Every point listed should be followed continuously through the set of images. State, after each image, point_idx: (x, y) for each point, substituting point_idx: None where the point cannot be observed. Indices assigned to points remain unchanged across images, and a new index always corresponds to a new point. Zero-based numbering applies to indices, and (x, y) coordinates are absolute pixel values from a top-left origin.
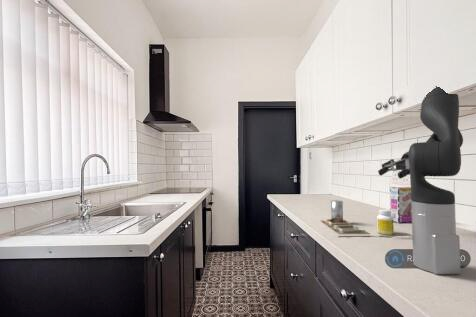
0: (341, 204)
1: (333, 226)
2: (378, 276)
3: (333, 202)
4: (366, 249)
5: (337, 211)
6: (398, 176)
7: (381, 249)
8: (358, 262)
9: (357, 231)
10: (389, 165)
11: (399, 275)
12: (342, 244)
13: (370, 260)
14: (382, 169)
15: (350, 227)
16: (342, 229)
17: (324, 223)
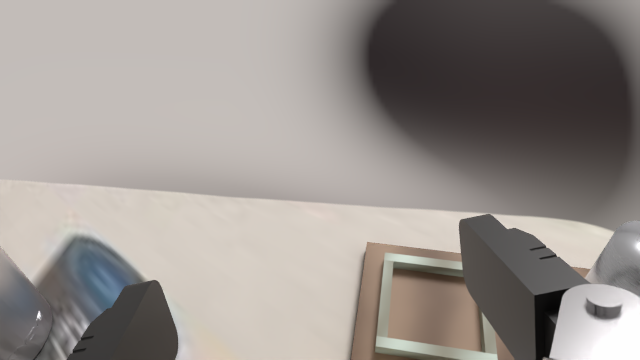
0: (618, 275)
1: None
2: (63, 186)
3: (620, 228)
4: (209, 258)
5: (587, 277)
6: (166, 315)
7: (189, 303)
8: (140, 190)
9: (379, 317)
10: (553, 349)
11: (36, 224)
12: (279, 219)
13: (135, 219)
14: (485, 248)
15: (481, 342)
16: (447, 290)
17: (577, 269)
